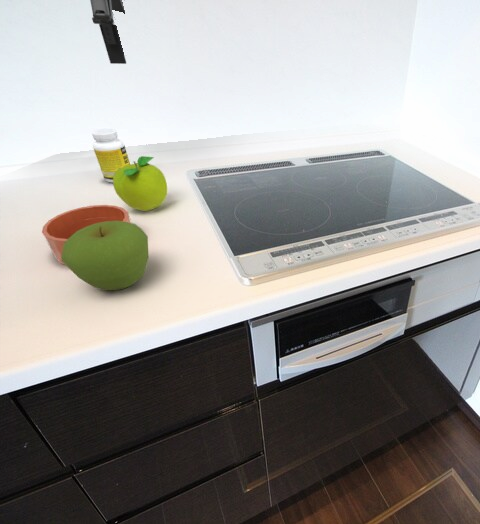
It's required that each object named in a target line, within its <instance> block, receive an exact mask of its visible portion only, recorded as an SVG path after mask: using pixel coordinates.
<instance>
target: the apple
mask: <svg viewBox="0 0 480 524" xmlns="http://www.w3.org/2000/svg"><path fill="white" fill-rule="evenodd" d="M148 237H149V236H148V235H147V234H146V232H145V231H144V230H143V229H142V228H141V227H140V226H138V225H137V224H136V223H134V222H133V223H129V222H124V221H105V222H100V223H95V224H92V225H89V226H87V227H84V228H82V229H80V230H78V231H77V232H75V233H74V234H73V235H72V236H71V237H70V238H69V239H67V240H66V241H65V242H64V245H63V252H62V259H61V260H62V261H63V262H64V263H65V264H66V265H65V266H66V267H67V268H68V269H69V270H70V271H71V272H72V273H73V274H74V275H75V276H76V277H77V278H78V279H80V280H81V281H83V282H85V283H86V284H89V285H90V286H91V287H93V288H95V289H97V290H102V291H119V290H124V289H127V288H129V287H131V286H133V285H134V284H135V283H136V282H138V281H139V280H140V279H141V278H143V276H144V274H145V272H146V269H147V266H148V262H149V258H150V257H149V255H150V254H149V238H148Z"/></svg>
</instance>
